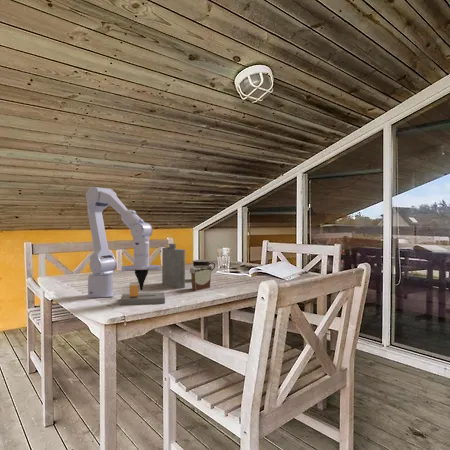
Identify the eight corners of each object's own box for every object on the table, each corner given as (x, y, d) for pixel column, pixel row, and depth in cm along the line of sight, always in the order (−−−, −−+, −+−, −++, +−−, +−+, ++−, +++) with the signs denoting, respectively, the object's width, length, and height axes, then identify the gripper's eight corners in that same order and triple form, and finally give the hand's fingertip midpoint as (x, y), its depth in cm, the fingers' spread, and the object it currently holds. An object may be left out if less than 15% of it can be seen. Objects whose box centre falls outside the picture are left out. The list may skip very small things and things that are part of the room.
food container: (202, 285, 166) (202, 264, 165) (212, 287, 162) (212, 266, 162) (183, 289, 156) (183, 267, 156) (193, 291, 152) (193, 268, 152)
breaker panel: (120, 305, 128) (120, 299, 128) (122, 298, 138) (122, 293, 138) (164, 303, 131) (164, 297, 131) (163, 297, 141) (163, 292, 141)
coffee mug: (192, 281, 177) (192, 261, 177) (193, 278, 186) (193, 259, 186) (215, 281, 178) (215, 261, 177) (215, 278, 186) (215, 259, 186)
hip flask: (186, 287, 161) (186, 244, 161) (179, 288, 158) (179, 244, 158) (166, 282, 173) (166, 242, 172) (159, 283, 170) (159, 242, 169)
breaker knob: (129, 296, 131) (129, 283, 131) (130, 293, 136) (130, 281, 136) (137, 296, 131) (138, 283, 131) (138, 293, 136) (138, 281, 136)
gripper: (121, 255, 128) (120, 292, 129) (161, 255, 131) (160, 291, 132) (122, 253, 135) (122, 288, 136) (160, 253, 138) (160, 287, 139)
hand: (141, 289), depth 134 cm, fingers closed
